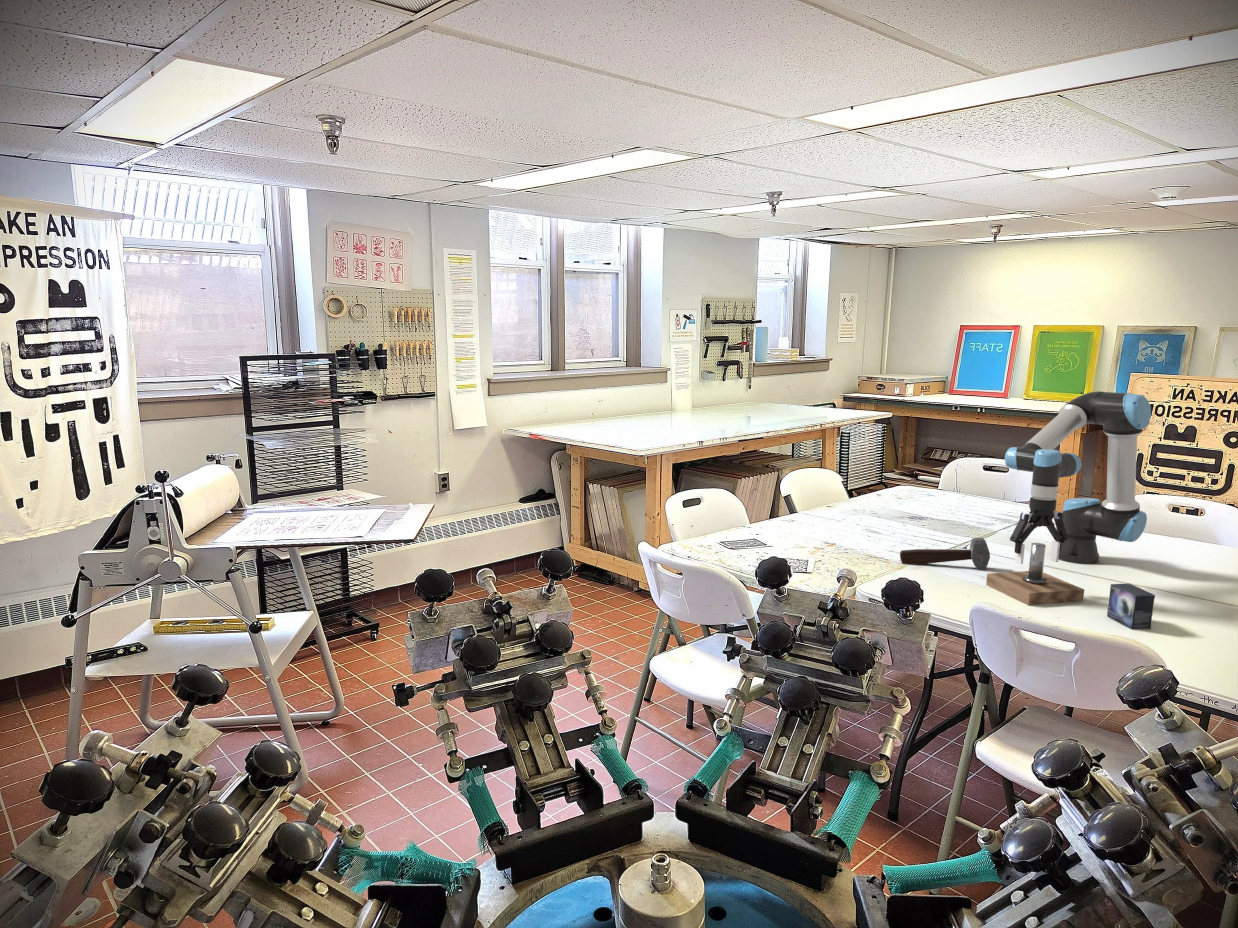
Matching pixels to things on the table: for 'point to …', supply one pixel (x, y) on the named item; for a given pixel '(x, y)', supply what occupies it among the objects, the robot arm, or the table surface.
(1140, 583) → the table surface
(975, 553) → the hammer
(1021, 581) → the socket plate
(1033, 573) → the steel peg
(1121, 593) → the small box
